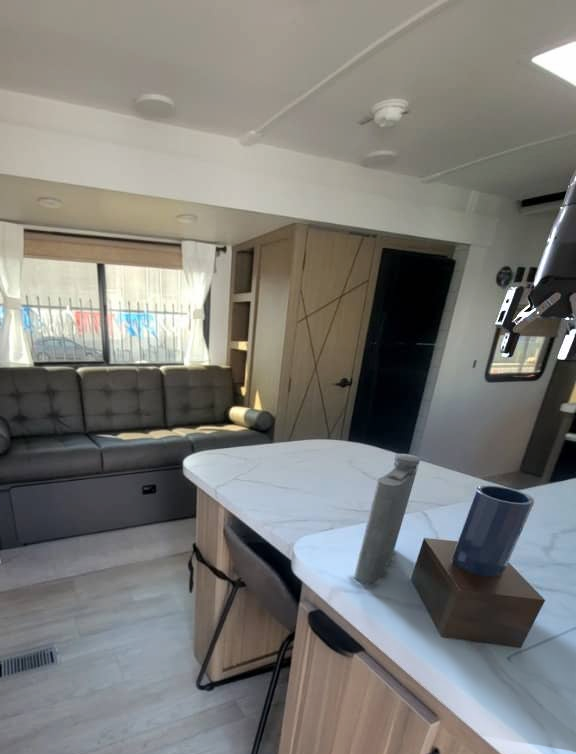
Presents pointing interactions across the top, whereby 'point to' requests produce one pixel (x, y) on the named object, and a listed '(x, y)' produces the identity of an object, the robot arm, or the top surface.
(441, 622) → the walnut wood box
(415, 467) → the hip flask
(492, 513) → the blue cup
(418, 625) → the top surface
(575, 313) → the robot arm
